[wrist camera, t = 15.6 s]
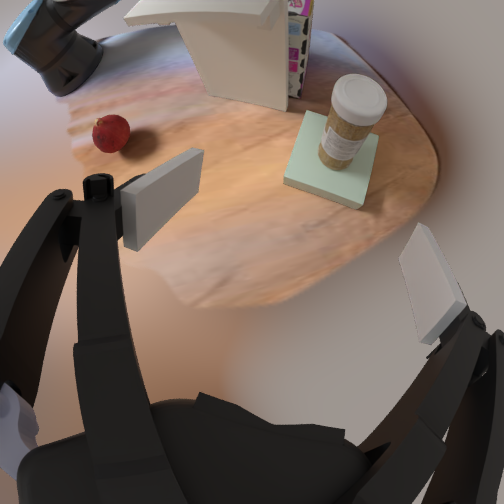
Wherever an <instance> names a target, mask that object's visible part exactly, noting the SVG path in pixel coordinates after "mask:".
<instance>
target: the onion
mask: <svg viewBox="0 0 504 504" xmlns="http://www.w3.org/2000/svg"><path fill="white" fill-rule="evenodd" d="M129 136H130V126H129V124H128V122H127V121H126V119H124V118H123V117H121V116H119V115H107V116H105V117H102V118H97V119H96V120H95V126H94V128H93V134H92V137H93V141H94V144H95V145H96V146H97V147H98V148H99V149H100V150H101V151H102V152H105V153H114V152H116V151H119V150H120V149H121V148H122V147H124V145H125V144H126V143H127V141H128V139H129Z"/></svg>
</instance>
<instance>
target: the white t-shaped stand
mask: <svg viewBox="0 0 504 504" xmlns="http://www.w3.org/2000/svg"><path fill="white" fill-rule="evenodd" d="M123 19H124V20H125V22H126V23H127V25H128V26H135V25H144V24H155V23H158V24H159V25H170V23H171V22H175V24H176V26H177V28H178V30H179V32H180V34H181V36H182V39H183V41H184V43H185V45H186V47H187V49H188V51H189V53H190V56H191V58H192V60H193V62H194V64H195V66H196V68H197V71H198V73H199V75H200V77H201V79H202V82H203V84H204V86H205V88H206V90H207V92H208V95H209V96H215V97H221V98H226V99H232V100H237V101H242V102H247V103H251V104H256V105H260V106H264V107H269V108H273V109H277V110H280V111H284V112H286V110H287V107H288V75H289V37H288V0H140V1H139V2H138V3H137V4H136V5H135V6H134V7H133V8H132V9H131V10H130V11H129V12H128V14H127V15H126V16H125V17H124V18H123Z"/></svg>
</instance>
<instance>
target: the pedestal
mask: <svg viewBox="0 0 504 504" xmlns="http://www.w3.org/2000/svg"><path fill="white" fill-rule="evenodd" d="M327 118H328V117H327V116H324V115H321V114H318V113H314V112H311V111H308V110H306V113H305V116H304V119H303V122H302V125H301V128H300V131H299V134H298V136H297V139H296V142H295V145H294V148H293V151H292V154H291V157H290V160H289V162H288V165H287V168H286V171H285V174H284V181H283V184H285V185H288V186H291V187H294V188H297V189H300V190H303V191H306V192H309V193H312V194H315V195H318V196H321V197H323V198H326V199H329V200H332V201H334V202H337V203H340V204H343V205H345V206H348V207H350V208H353V209H356V210H357V209H358V208H360V207H361V206H362V205H363V203H364V200H365V196H366V192H367V188H368V184H369V180H370V176H371V171H372V167H373V163H374V158H375V153H376V149H377V144H378V139H379V136H378V135H375V134H373V133H371V132H370V134H369V135H368V137H367V138H366V140H365V142H364V143H363V145H362V146H361V148H360V150H359V151H358V153H357V154H356V155H355V156H354V157H353V161H352V163H351V164H350V165H349V166H348V167H347V168H345V169H343V170H332V169H330V168H328V167H326V166H325V165H324V164H323V163H322V162H321V160H320V159H319V156H318V147H319V144H320V142H321V138H322V134H323V130H324V127H325V124H326V122H327Z"/></svg>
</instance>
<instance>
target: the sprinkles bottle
mask: <svg viewBox="0 0 504 504" xmlns="http://www.w3.org/2000/svg"><path fill="white" fill-rule="evenodd" d="M331 101H332V105H331V108H330V111H329V115H328V118H327V122H326V124H325V127H324V130H323V134H322V138H321V142H320V144H319V147H318V156H319V159H320V160H321V162H322V163H323V164H324V165H325V166H326V167H328V168H330V169H332V170H343V169H345V168H347V167H348V166H349V165H350V164H351V163H352V161H353V157H354V156H355V155H356V154H357V153H358V151H359V150H360V148H361V146H362V145H363V143H364V142H365V140H366V138H367V137H368V135H369V134H370V131H371V129H372V127H373V126H374V124H375V123H376V122H378V121H379V120H380V118H381V117H382V115H383V113H384V111H385V110H386V107H387V97H386V94H385V92H384V90H383V89H382V87H381V86H380V85H379V84H378V83H377V82H375V81H374V80H372V79H371V78H369V77H366V76H364V75H360V74H347V75H344V76H342V77H340V78H339V79H338V80H337V81H336V83H335V86H334V89H333V92H332V97H331Z"/></svg>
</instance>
